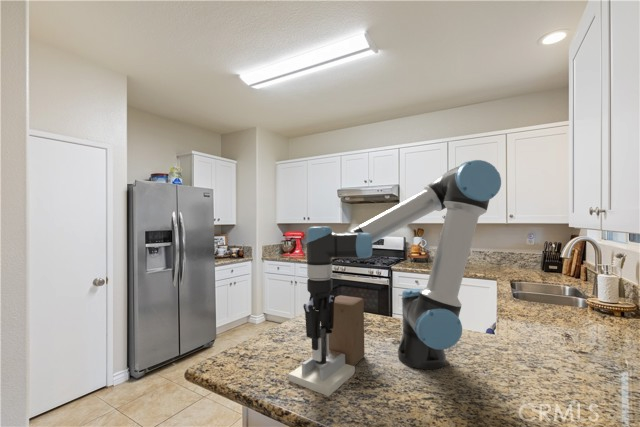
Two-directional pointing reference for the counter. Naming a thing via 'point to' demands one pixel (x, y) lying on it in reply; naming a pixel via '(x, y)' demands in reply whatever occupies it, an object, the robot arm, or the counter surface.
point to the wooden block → (348, 328)
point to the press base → (322, 375)
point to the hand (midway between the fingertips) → (320, 357)
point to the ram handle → (332, 353)
